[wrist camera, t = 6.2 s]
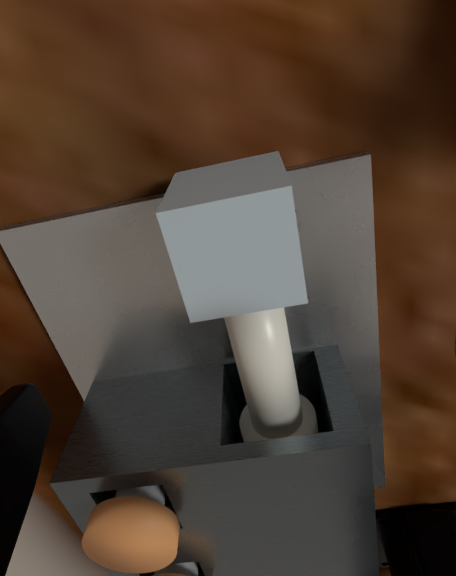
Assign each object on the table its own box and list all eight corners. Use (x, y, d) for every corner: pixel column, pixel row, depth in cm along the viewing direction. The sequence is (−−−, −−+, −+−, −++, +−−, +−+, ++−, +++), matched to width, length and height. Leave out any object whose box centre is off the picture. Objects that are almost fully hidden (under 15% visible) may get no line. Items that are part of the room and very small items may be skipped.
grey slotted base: (382, 478, 27) (421, 595, 21) (145, 505, 29) (123, 618, 23) (366, 150, 17) (433, 206, 11) (1, 226, 19) (-104, 308, 13)
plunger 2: (222, 539, 24) (219, 632, 20) (159, 546, 25) (145, 637, 21) (206, 500, 22) (200, 594, 19) (139, 508, 23) (119, 601, 19)
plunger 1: (196, 475, 21) (187, 569, 17) (125, 483, 22) (101, 576, 18) (176, 423, 19) (161, 516, 16) (99, 434, 20) (66, 526, 16)
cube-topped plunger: (327, 477, 25) (343, 554, 21) (261, 485, 26) (265, 562, 22) (278, 151, 16) (291, 185, 12) (175, 172, 16) (155, 213, 12)
